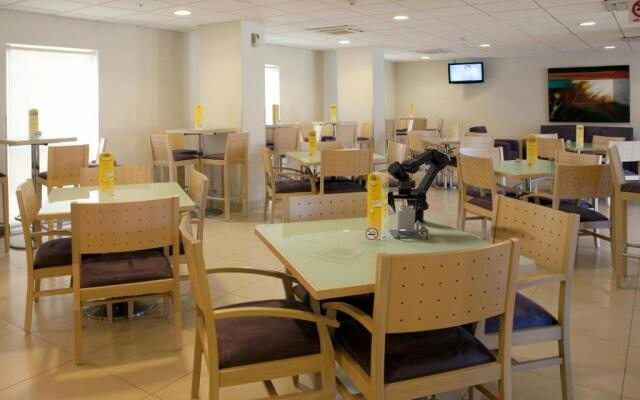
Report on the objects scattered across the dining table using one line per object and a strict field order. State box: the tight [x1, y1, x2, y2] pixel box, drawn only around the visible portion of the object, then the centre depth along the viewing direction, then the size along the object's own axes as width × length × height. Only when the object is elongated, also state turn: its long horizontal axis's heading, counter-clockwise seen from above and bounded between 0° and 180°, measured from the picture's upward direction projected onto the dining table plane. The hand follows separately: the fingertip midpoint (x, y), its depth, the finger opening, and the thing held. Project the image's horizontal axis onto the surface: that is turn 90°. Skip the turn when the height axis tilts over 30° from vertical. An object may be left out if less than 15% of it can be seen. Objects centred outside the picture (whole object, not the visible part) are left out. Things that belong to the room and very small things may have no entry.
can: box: [396, 204, 416, 235], centre depth 241 cm, size 8×8×12 cm
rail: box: [396, 220, 429, 240], centre depth 243 cm, size 20×13×4 cm, turn 2°
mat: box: [388, 229, 423, 239], centre depth 242 cm, size 14×12×1 cm
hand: (405, 212), depth 247 cm, fingers open, 9 cm apart
